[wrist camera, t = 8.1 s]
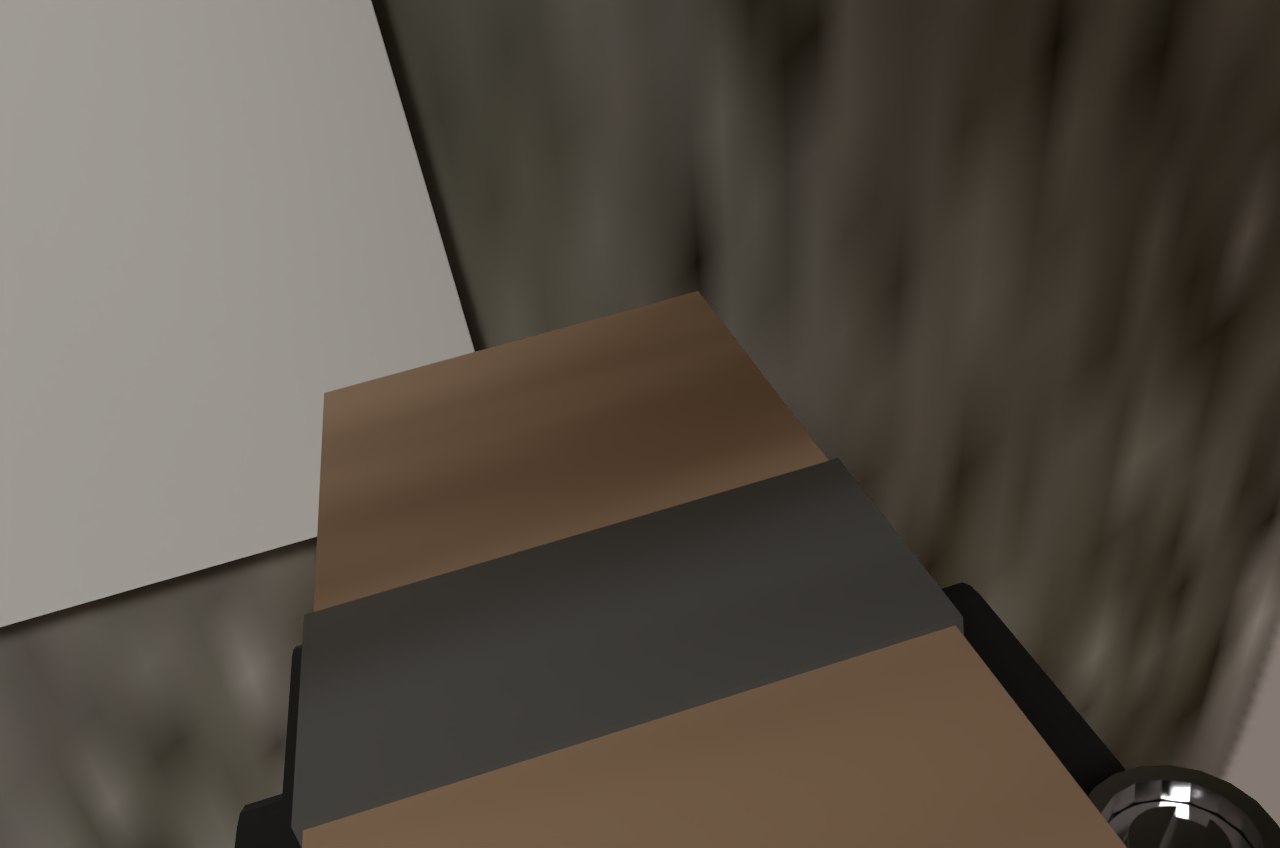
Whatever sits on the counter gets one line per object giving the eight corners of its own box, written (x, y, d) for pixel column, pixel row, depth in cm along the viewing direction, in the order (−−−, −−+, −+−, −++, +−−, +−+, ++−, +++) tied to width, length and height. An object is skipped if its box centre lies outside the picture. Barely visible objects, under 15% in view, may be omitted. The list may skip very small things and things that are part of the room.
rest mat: (-455, 30, 13) (-477, 35, 12) (329, -143, 14) (329, -142, 13) (-59, 630, 17) (-67, 646, 17) (509, 467, 18) (512, 480, 18)
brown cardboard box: (317, 390, 11) (264, 1253, 4) (701, 285, 12) (1204, 921, 5) (474, 799, 14) (590, 1693, 7) (775, 705, 15) (1150, 1467, 8)
